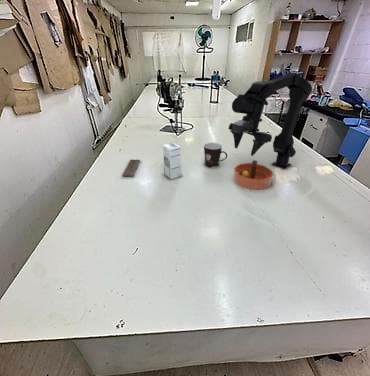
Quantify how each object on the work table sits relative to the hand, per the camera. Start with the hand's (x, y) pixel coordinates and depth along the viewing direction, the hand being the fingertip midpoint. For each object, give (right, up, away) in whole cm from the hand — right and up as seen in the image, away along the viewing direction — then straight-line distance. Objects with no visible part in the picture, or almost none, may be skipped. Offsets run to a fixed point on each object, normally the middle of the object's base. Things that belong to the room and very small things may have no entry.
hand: (243, 151), depth 98 cm
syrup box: (-30, -11, +7) cm, 33 cm away
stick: (+4, -12, +3) cm, 13 cm away
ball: (+2, -10, +5) cm, 11 cm away
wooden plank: (-50, -8, +13) cm, 52 cm away
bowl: (+4, -13, +3) cm, 14 cm away
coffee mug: (-11, -7, +16) cm, 21 cm away
